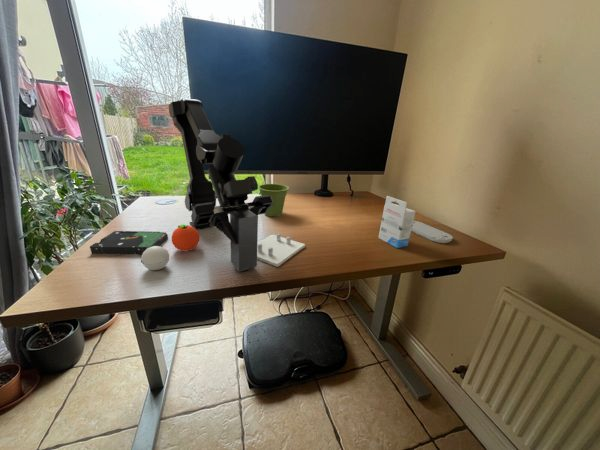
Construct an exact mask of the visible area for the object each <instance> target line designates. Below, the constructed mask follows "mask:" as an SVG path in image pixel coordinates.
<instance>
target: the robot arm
mask: <svg viewBox="0 0 600 450" xmlns="http://www.w3.org/2000/svg"><path fill="white" fill-rule="evenodd" d="M168 112H169V116H170V117H171V120H172V122H173V126H175V128H176V129H177V130H178V132H179V133H180V135H181V139H182V144H183V150H184V154H185V158H186V159H185V160H186V163H187V169H188V173H189V182H188V183H187V186H186V193H185V197H184V206H185V208H186V210H188V212H191V215H190V217H191V221H189V224H190V226H191V227H194V228H195V229H196V230H199V229H203V228H208V227H209V228H210V227H215V228H216V229H217V230H219V231H220V232H222V233H223V235H224V236H225V237H226V238H227V239H228V240H230V242H231V241H232V242H233V243H234V244H235V245H237V243H238V242H237V239H236V236H235V233H234V231H233V229H232V226H231V224H230V217H229V215H230V212H232V211H240V210H250V211H251V212H253V213H254V214H256V215H257V216H258V217H259V215H265V213H267V211H268V210H269V209H270V207H271V206H272V205H273V204H274V203H273V200H272V198H271V197H270V196H268V195H264V196H261V195H257V196H255V197H254V199H253V200H252V201H251V202H245V201H247V200H248V199H249V197H248V195H252V194H253V192H255V191H257V190H258V189H259V188H258V186H259V185H258V180H256V179H257V178H256V176H254V175H253V176H252V175H251V176H247V177H245V178H244V179H236V176H235V172H236V171H237V170H238V168H239V166H240V164H241V161H242V159H243V157H244V154H245V152H246V151H245V146H244V145H243V144H242V142H240V141H239V140H237V139H236V138H234V137H233V138H232V136H231V134H227V133H225V134H223V133H221V135H220V134H217V133H216V132H215V131H214V129H213V127H212V125H211V123H210V121H209V118H208V117H207V115H206V112H205V110H204V106H203V103H202V100H199V99H193V98H186V97H184V98H182V99H180V100H172V101H171V102H170V103H169V105H168ZM204 165H209V166H208V169H207V173H208V179H207V177H206V174H205V168H204ZM217 201H218V203H219V205H217ZM216 205H217V206H216Z"/></svg>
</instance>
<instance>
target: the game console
mask: <svg viewBox="0 0 600 450" xmlns="http://www.w3.org/2000/svg"><path fill="white" fill-rule="evenodd" d="M411 233H414V234H416V235H418V236H421V237H423V238H424V239H427V240H429V241H431V242H434V243H438V244H447V243H451V242H452V240H453V235H451V234H450V233H447V232H446V231H442V230H441V229H438V228H436V227H433V226H431V225H428V224H426V223H423V222H421V221H417V220H414V221H413V225H412V229H411Z"/></svg>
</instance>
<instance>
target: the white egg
mask: <svg viewBox="0 0 600 450" xmlns="http://www.w3.org/2000/svg"><path fill="white" fill-rule="evenodd" d="M140 259H141V260H140V262H141V263H142V265H143V266H144V267H145V268H146V269H148V270H151V271H158V270H161V269H163V268H165V267H166V265H168V263H169V261H170V254H169V252H168V250H167V249H166V248H164V247H162V245H161V246H152V247H150V248H148V249H146V250H145V251H144V252H143V254H142V255H141V257H140Z"/></svg>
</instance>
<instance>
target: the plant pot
mask: <svg viewBox="0 0 600 450" xmlns="http://www.w3.org/2000/svg"><path fill="white" fill-rule="evenodd" d="M289 188H290V187H289V186H287V185H285V184H279V183H264V184H260V185H258V189H259V192H260V196H264V195H268V196H270V197H271V198H272V200H273V203H274V204H273V205H272V206H271V207H270V209H269V210H268V211H267V213H265V214H264V215H265V216H266V217H270V218H271V217H277V218H278V217H280V216H282V215H283V212H284V211H283V210H284V207H285V201H286V197H287V193H288V190H289Z"/></svg>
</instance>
